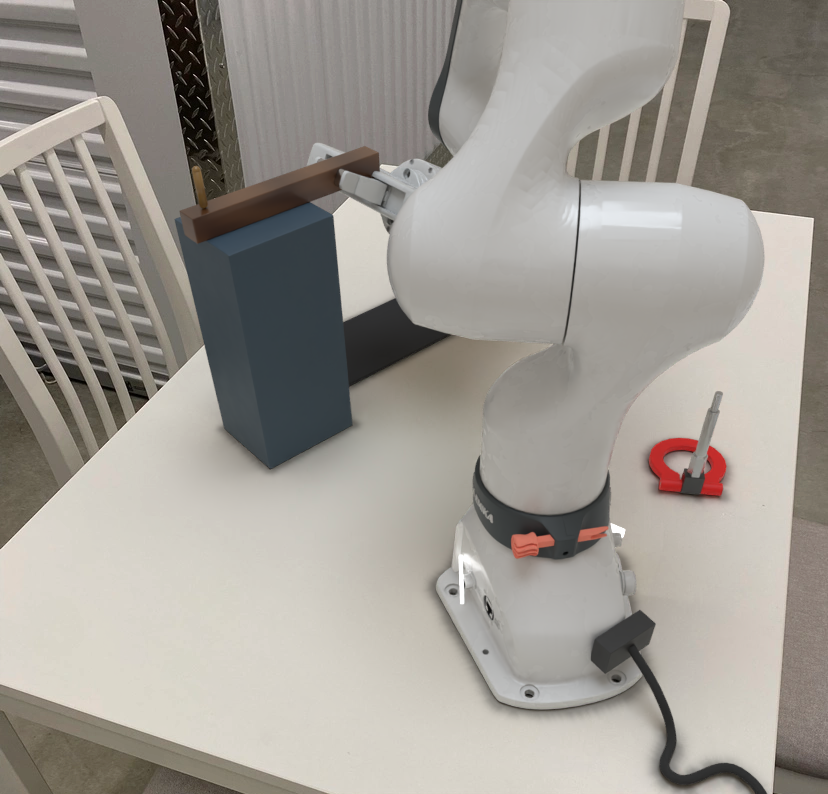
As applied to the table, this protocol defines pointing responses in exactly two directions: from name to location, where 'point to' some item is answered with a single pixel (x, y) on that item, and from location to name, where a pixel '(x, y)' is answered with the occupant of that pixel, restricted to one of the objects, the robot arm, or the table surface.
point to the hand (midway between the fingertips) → (328, 172)
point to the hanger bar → (270, 195)
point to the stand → (274, 330)
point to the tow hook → (692, 460)
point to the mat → (383, 340)
